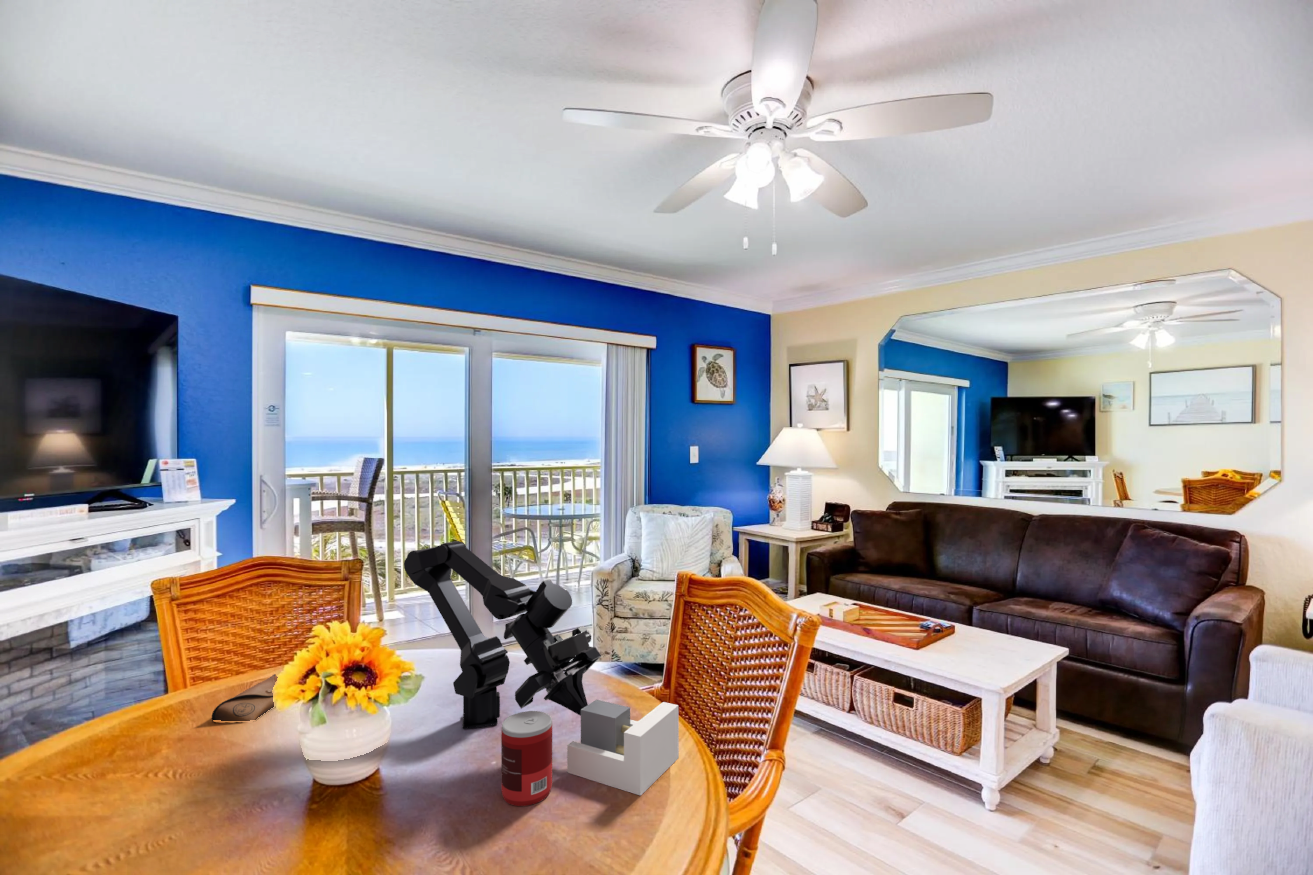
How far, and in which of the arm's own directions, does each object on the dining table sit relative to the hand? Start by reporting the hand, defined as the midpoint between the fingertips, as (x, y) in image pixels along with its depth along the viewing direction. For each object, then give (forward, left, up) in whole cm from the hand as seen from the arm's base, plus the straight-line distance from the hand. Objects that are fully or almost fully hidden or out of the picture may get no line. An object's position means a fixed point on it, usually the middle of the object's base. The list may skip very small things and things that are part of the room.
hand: (587, 715), depth 106 cm
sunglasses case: (-62, +40, -7) cm, 74 cm away
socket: (+5, -5, -7) cm, 10 cm away
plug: (+4, -4, -6) cm, 8 cm away
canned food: (-11, -9, -7) cm, 16 cm away
